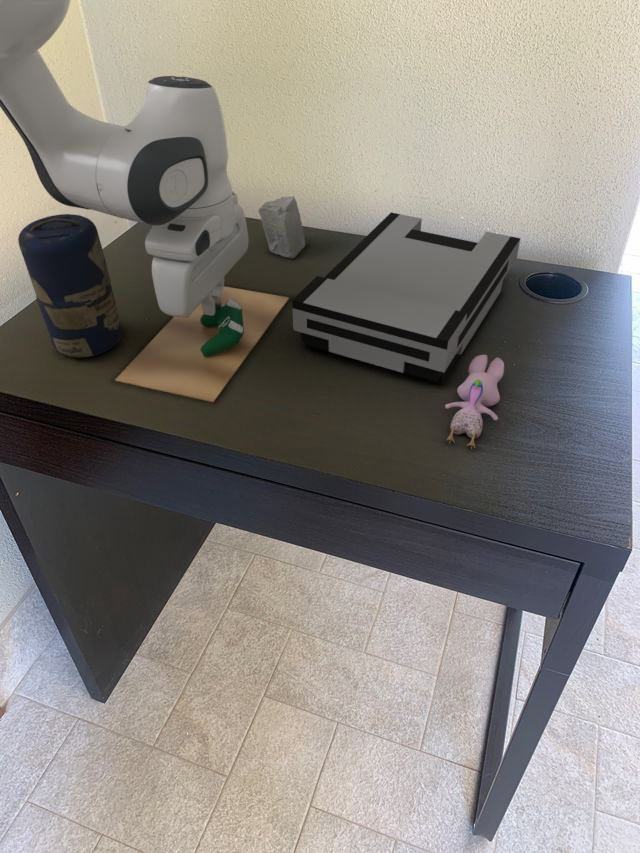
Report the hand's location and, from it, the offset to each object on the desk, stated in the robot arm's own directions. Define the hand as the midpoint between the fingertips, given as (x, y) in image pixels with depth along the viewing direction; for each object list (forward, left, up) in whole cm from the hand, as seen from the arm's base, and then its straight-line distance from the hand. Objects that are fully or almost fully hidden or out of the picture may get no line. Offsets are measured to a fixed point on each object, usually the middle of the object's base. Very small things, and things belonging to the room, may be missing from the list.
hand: (213, 310), depth 95 cm
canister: (-17, +3, -3) cm, 18 cm away
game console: (+27, -8, -3) cm, 28 cm away
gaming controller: (0, -4, -3) cm, 5 cm away
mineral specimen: (+17, +19, -3) cm, 26 cm away
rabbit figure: (+24, -30, -3) cm, 39 cm away
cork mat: (-2, -2, -3) cm, 4 cm away
